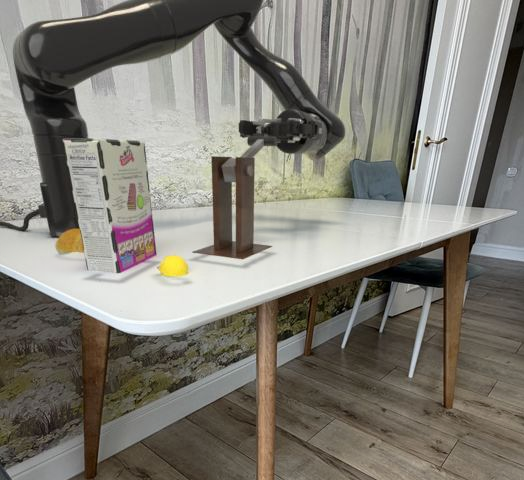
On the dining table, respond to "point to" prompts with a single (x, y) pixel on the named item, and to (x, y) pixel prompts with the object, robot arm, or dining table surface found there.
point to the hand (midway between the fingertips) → (264, 127)
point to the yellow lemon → (173, 266)
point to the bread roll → (69, 242)
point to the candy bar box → (111, 202)
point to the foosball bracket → (224, 211)
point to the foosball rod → (247, 154)
